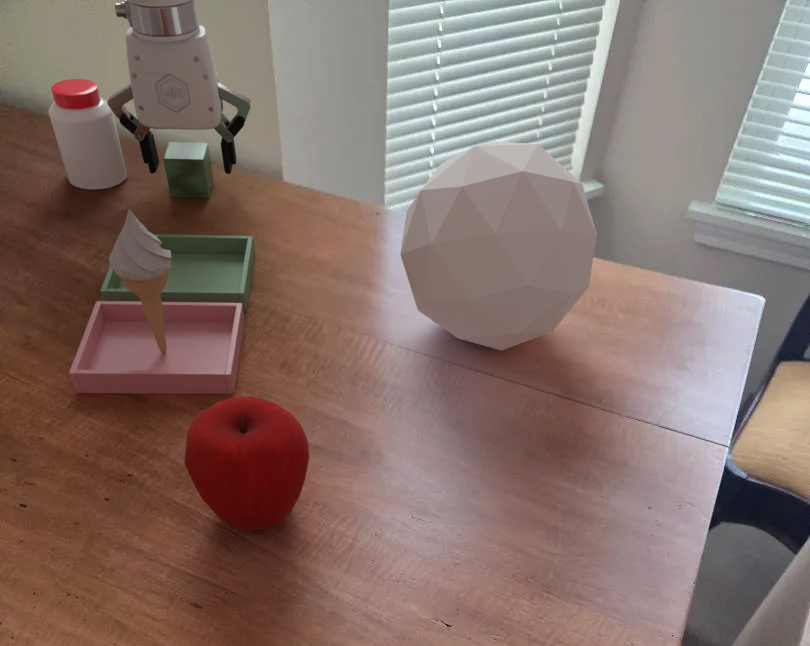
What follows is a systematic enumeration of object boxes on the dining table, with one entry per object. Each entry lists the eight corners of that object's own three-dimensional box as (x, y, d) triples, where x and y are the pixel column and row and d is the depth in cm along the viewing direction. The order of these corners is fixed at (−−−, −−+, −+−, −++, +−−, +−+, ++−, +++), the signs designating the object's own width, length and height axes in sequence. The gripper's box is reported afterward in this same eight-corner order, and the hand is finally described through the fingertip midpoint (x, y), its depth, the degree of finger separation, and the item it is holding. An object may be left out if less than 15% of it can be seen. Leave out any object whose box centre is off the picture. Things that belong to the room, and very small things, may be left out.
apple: (332, 529, 63) (328, 432, 55) (224, 570, 60) (202, 474, 52) (284, 456, 69) (274, 358, 60) (183, 491, 65) (157, 392, 57)
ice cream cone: (149, 375, 75) (110, 230, 63) (126, 347, 77) (85, 203, 66) (200, 356, 77) (172, 213, 65) (176, 330, 80) (145, 188, 68)
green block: (170, 197, 99) (163, 158, 95) (176, 180, 102) (169, 141, 98) (209, 198, 99) (203, 159, 95) (213, 181, 102) (207, 142, 98)
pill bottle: (78, 194, 98) (52, 103, 90) (60, 170, 102) (33, 81, 94) (136, 182, 101) (115, 92, 93) (115, 159, 105) (94, 71, 97)
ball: (448, 355, 91) (437, 176, 86) (617, 341, 82) (615, 142, 77) (374, 360, 74) (356, 139, 70) (575, 343, 66) (570, 90, 61)
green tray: (105, 310, 82) (99, 291, 80) (126, 252, 90) (121, 233, 88) (246, 312, 83) (243, 293, 81) (255, 254, 91) (253, 235, 89)
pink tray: (75, 393, 73) (68, 373, 71) (102, 320, 81) (96, 300, 79) (234, 394, 74) (230, 374, 72) (244, 322, 82) (242, 302, 80)
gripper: (79, 25, 83) (119, 181, 96) (237, 29, 84) (256, 183, 97) (93, 4, 87) (130, 155, 101) (243, 7, 88) (260, 157, 102)
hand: (192, 168), depth 99 cm, fingers open, 9 cm apart
